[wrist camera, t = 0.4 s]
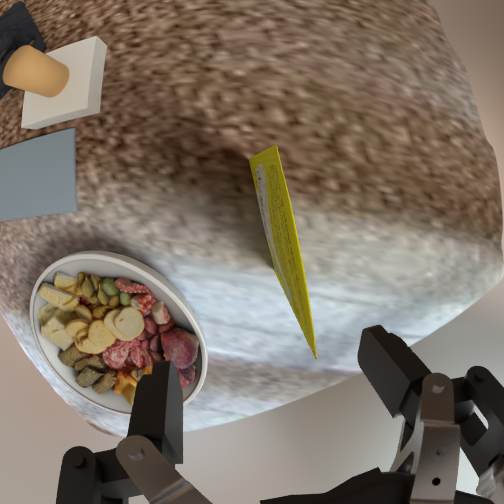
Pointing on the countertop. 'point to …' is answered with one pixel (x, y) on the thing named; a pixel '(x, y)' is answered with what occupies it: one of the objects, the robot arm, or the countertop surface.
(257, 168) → the food package
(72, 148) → the mat
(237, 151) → the countertop surface
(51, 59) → the tan rounded cylinder
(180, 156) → the countertop surface
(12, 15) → the black flat bumpy piece
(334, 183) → the countertop surface
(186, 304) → the bowl
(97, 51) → the white square block
